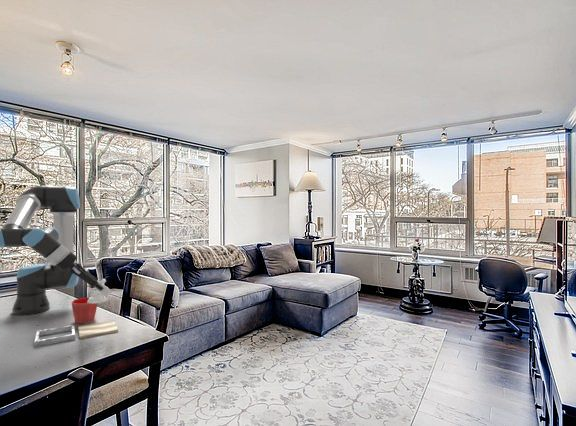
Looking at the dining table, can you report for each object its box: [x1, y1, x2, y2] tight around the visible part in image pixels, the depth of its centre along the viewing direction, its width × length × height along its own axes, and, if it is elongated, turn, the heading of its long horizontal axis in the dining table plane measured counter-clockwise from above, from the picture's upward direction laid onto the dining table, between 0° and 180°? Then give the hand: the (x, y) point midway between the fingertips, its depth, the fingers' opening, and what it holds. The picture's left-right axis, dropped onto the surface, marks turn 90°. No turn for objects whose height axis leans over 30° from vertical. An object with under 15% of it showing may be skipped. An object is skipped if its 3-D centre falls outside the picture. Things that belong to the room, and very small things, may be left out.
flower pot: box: [71, 297, 99, 324], centre depth 152 cm, size 11×11×10 cm
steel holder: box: [33, 324, 76, 347], centre depth 131 cm, size 13×13×2 cm
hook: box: [87, 278, 108, 304], centre depth 140 cm, size 8×12×7 cm
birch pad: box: [77, 320, 119, 340], centre depth 140 cm, size 14×14×1 cm
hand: (107, 292), depth 142 cm, fingers closed on hook, 4 cm apart
